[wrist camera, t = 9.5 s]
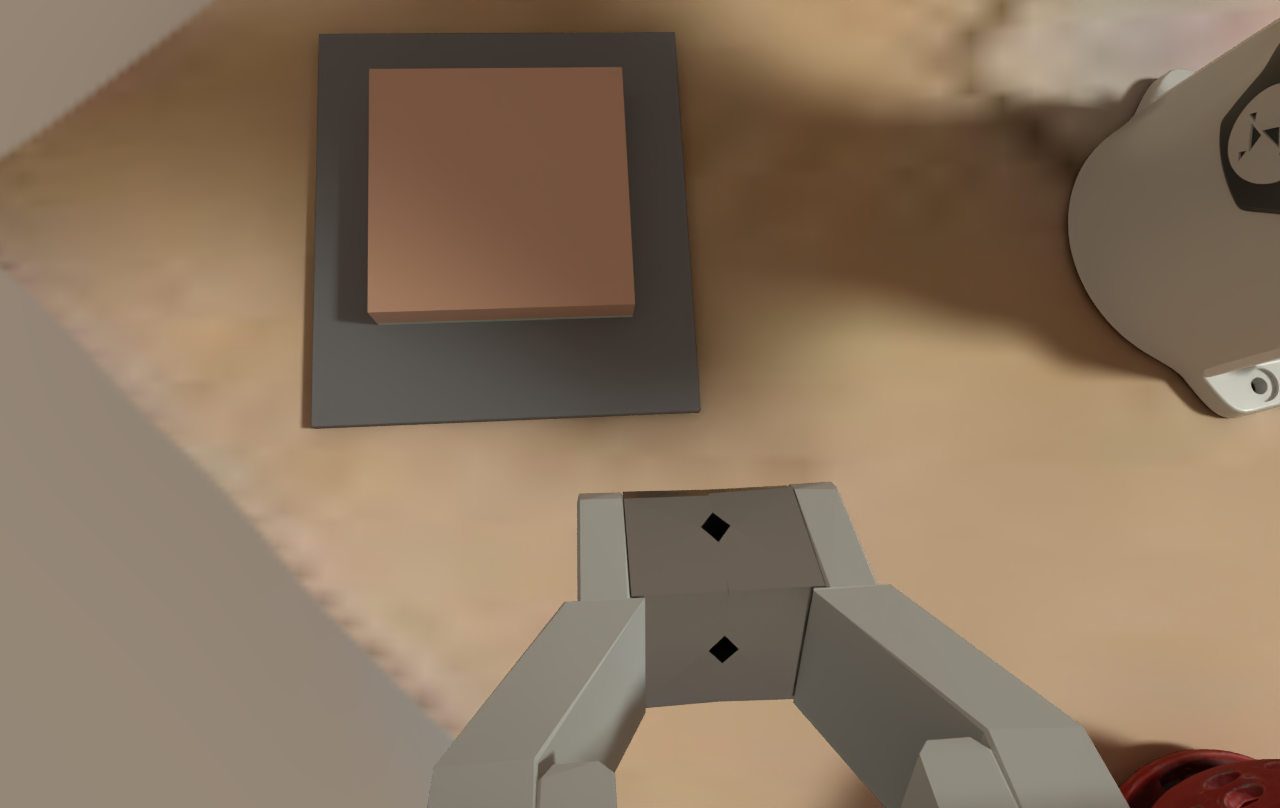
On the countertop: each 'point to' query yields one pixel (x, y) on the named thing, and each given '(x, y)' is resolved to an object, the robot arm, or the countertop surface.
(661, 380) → the mat
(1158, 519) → the countertop surface
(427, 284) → the tile
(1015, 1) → the countertop surface
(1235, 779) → the plant pot
